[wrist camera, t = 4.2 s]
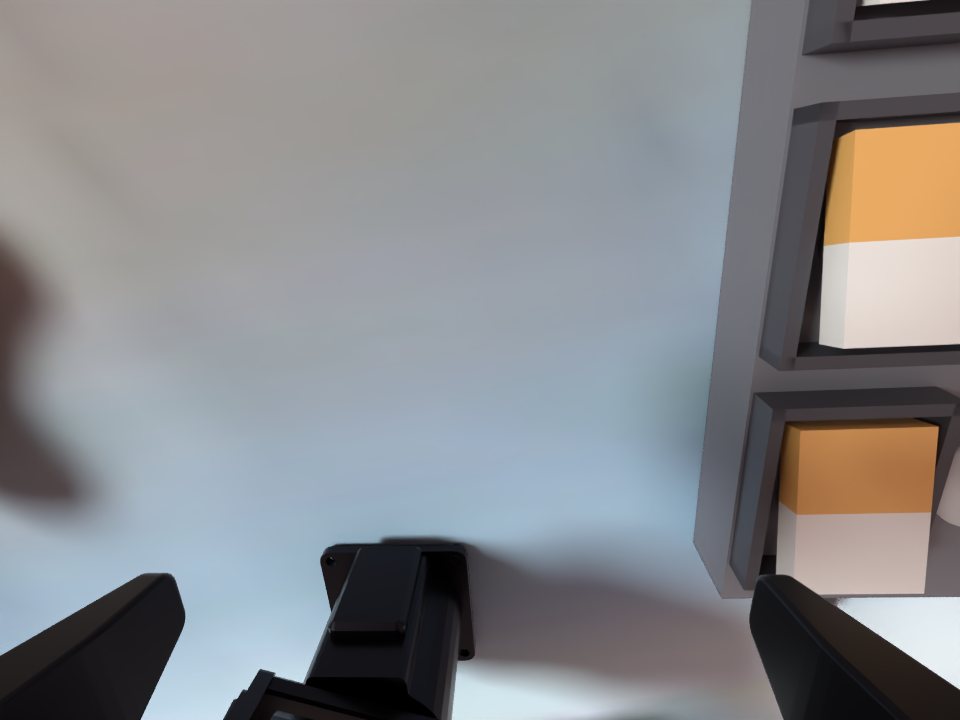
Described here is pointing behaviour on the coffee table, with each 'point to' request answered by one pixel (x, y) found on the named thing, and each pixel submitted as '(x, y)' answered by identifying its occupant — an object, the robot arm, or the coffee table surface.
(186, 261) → the coffee table surface
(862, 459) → the block
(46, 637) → the robot arm
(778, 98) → the power strip
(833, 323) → the rocker middle
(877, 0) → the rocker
